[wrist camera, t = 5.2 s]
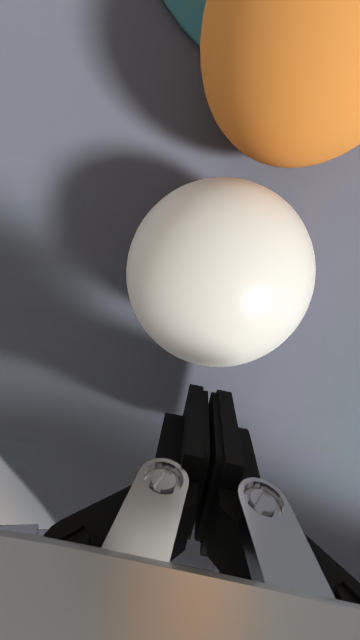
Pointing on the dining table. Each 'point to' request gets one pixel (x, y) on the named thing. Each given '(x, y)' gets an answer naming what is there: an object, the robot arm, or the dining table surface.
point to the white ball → (220, 271)
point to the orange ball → (284, 77)
